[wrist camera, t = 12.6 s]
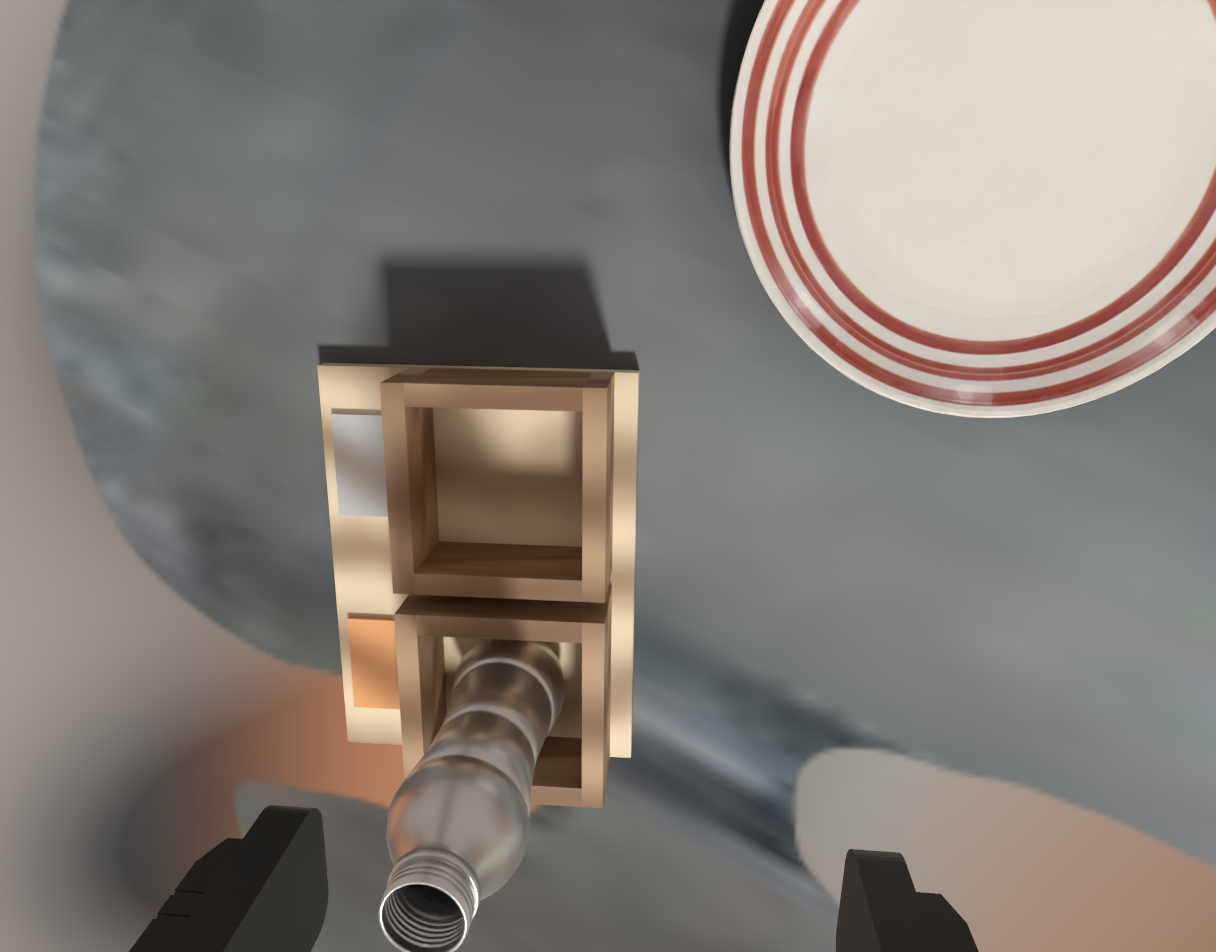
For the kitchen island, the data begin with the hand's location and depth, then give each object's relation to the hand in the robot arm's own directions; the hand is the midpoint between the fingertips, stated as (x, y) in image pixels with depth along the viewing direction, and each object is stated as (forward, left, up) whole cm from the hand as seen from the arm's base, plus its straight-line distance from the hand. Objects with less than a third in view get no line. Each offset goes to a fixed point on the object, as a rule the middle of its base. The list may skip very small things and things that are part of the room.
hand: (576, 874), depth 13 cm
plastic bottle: (+16, -8, -36) cm, 40 cm away
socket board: (+10, -10, -37) cm, 39 cm away
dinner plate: (-14, +17, -37) cm, 43 cm away
